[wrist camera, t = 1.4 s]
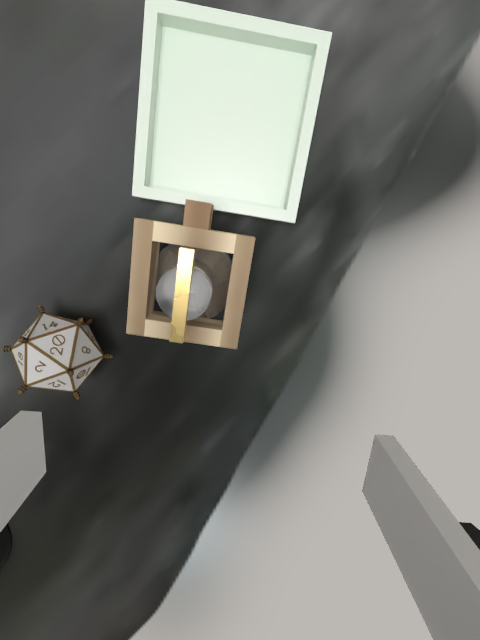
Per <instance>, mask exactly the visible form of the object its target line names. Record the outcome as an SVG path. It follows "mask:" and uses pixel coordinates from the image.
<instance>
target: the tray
mask: <svg viewBox="0 0 480 640" xmlns="http://www.w3.org/2000/svg"><path fill="white" fill-rule="evenodd" d="M331 36H332V32H328V31H323V30H318V29H313V28H308V27H303V26H298V25H293V24H288V23H283V22H279V21H274V20H269V19H264V18H259V17H254V16H249V15H244V14H239V13H235V12H230V11H225V10H220V9H215V8H210V7H205V6H200V5H195V4H190V3H186V2H181V1H176V0H145V13H144V27H143V42H142V56H141V71H140V85H139V100H138V115H137V129H136V144H135V158H134V173H133V187H132V196H134V197H138V198H143V199H149V200H155V201H161V202H167V203H173V204H179V205H185V201H186V199H188V200H194V201H200V202H206V203H212V204H213V205H214V208H213V210H215V211H221V212H227V213H233V214H239V215H244V216H250V217H256V218H262V219H268V220H274V221H280V222H286V223H295V220H296V215H297V210H298V205H299V200H300V195H301V190H302V185H303V179H304V174H305V169H306V164H307V159H308V154H309V149H310V143H311V138H312V133H313V128H314V123H315V118H316V113H317V108H318V102H319V97H320V92H321V87H322V82H323V77H324V72H325V66H326V61H327V56H328V51H329V46H330V41H331Z"/></svg>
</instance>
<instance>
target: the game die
mask: <svg viewBox="0 0 480 640" xmlns="http://www.w3.org/2000/svg"><path fill="white" fill-rule="evenodd" d="M38 310H39V311H40V313H41V314H40V315H39V316H38V318H37V319H36V320H35V321H34V322H33V323H32V324H31V326H30V327H29V328H28V329H27V330H26V331H25V332H24V334H23V335H22V336H21V337H19V338H18V340H17V342H16V343H15V344H14V345H13V346H12V347H9V346H4V347H2V348H1V349H2V350H4V352H5V351H7V352H8V351H11V352H12V354H13V357H14V359H15V362H16V364H17V367H18V370H19V372H20V375H21V377H22V380H23V382H24V386H21V388H19V391H18V394H20V393H24V391H25V390H26V389H27V387H31V388H40V389H49V390H58V391H68V392H73V395H74V398H76V399H77V400H79V396H80V395H79V394H78V392H77V390H78V388H79V387H80V386H81V385H82V383H83V382H84V381H85V380H86V378H87V377H88V376H89V375H90V374H91V372H92V371H93V370H94V369H95V367H96V366H97V365H98V364H99V363H100V361H101V360H102V359H103V358H106V359H110V358H112V357H113V356H112V355H110V354H103V352H102V350H101V348H100V346H99V344H98V342H97V340H96V338H95V336H94V334H93V333H92V331H91V329H90V327H89V325H90V324H91V323H93V319H88V321H86V323H84V320H83V318H79V319H78V321H76V320H72V319H68V318H64V317H61V316H57V315H53V314H49V313H45V312H44V310H45V309H44V307H43V306H41V305H40V304H39V306H38Z"/></svg>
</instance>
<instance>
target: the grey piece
mask: <svg viewBox="0 0 480 640" xmlns="http://www.w3.org/2000/svg"><path fill="white" fill-rule="evenodd" d="M231 265H232V260H231V258H230V256H229V254H228V253H226V252H219V251H213V250H207V249H201V248H194V247H188V246H182V245H176V244H169V245H168V246H166V247H165V248H164V249H163V250H162V251H161V252H160V253H159V257H158V267H157V278H156V289H155V298H156V300H157V302H158V304H159V306H160V308H161V309H162V311H163V312H164V313H165V314H167V315H168V316H169V317H171V318H172V321H171V331H170V340H169V342H177V343H183V342H184V340H185V334H186V325H187V321H188V320H193V319H195V318H197V317H201V318H208V319H210V318H212V317H214V316H216V315H217V314H219V313H220V312H221V311H222V310H223V309H224V308H225V305H226V298H227V292H228V285H229V279H230V272H231Z"/></svg>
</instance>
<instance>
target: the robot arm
mask: <svg viewBox="0 0 480 640" xmlns="http://www.w3.org/2000/svg"><path fill="white" fill-rule="evenodd" d="M45 473H46V462H45V450H44V438H43V425H42V413H41V412H34V411H20V412H19V413H18V414H17V415H16V416H14V417H13V418H12V419H11V420H10V421H9V422H8V423H6V424H5V425H4V426H3V427H2V428H1V429H0V569H1V567H2V566H3V564H4V563H5V561H6V560H7V558H8V556H9V553H10V550H11V536H10V532H9V529H8V527H7V525H6V524H7V523H8V522H9V520H10V519H11V518H12V516H13V515H14V514H15V512H16V511H17V510H18V508H19V507H20V506H21V504H22V503H23V502H24V501H25V499H26V498H27V497H28V495H29V494H30V493H31V491H32V490H33V489H34V487H35V486H36V485H37V483H38V482H39V481H40V479H41V478H42V477H43V476H44V474H45ZM362 492H363V493H364V496H365V498H366V500H367V502H368V504H369V506H370V508H371V510H372V512H373V515H374V516H375V519H376V521H377V523H378V525H379V527H380V529H381V531H382V533H383V535H384V538H385V540H386V542H387V544H388V546H389V548H390V550H391V552H392V554H393V556H394V558H395V560H396V563H397V565H398V567H399V569H400V571H401V573H402V575H403V577H404V579H405V581H406V583H407V586H408V588H409V590H410V592H411V594H412V596H413V598H414V600H415V602H416V604H417V606H418V608H419V611H420V613H421V615H422V617H423V619H424V621H425V623H426V625H427V627H428V629H429V631H430V634H431V636H432V638H433V640H480V530H478V529H477V528H476V527H475V526H474V525H472V524H471V523H462V522H458V521H457V519H456V518H455V517H454V516H453V514H452V513H451V511H450V510H449V509H448V508H447V506H446V505H445V504H444V502H443V501H442V499H441V498H440V497H439V495H438V494H437V493H436V492H435V490H434V489H433V487H432V486H431V485H430V484H429V482H428V481H427V479H426V478H425V477H424V476H423V474H422V473H421V472H420V470H419V469H418V468H417V466H416V465H415V464H414V462H413V461H412V460H411V458H410V457H409V456H408V454H407V453H406V452H405V450H404V449H403V448H402V446H401V445H400V444H399V442H398V441H397V440H396V438H395V437H394V436H389V435H375V437H374V441H373V446H372V450H371V454H370V459H369V463H368V468H367V473H366V477H365V481H364V486H363V490H362Z"/></svg>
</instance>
